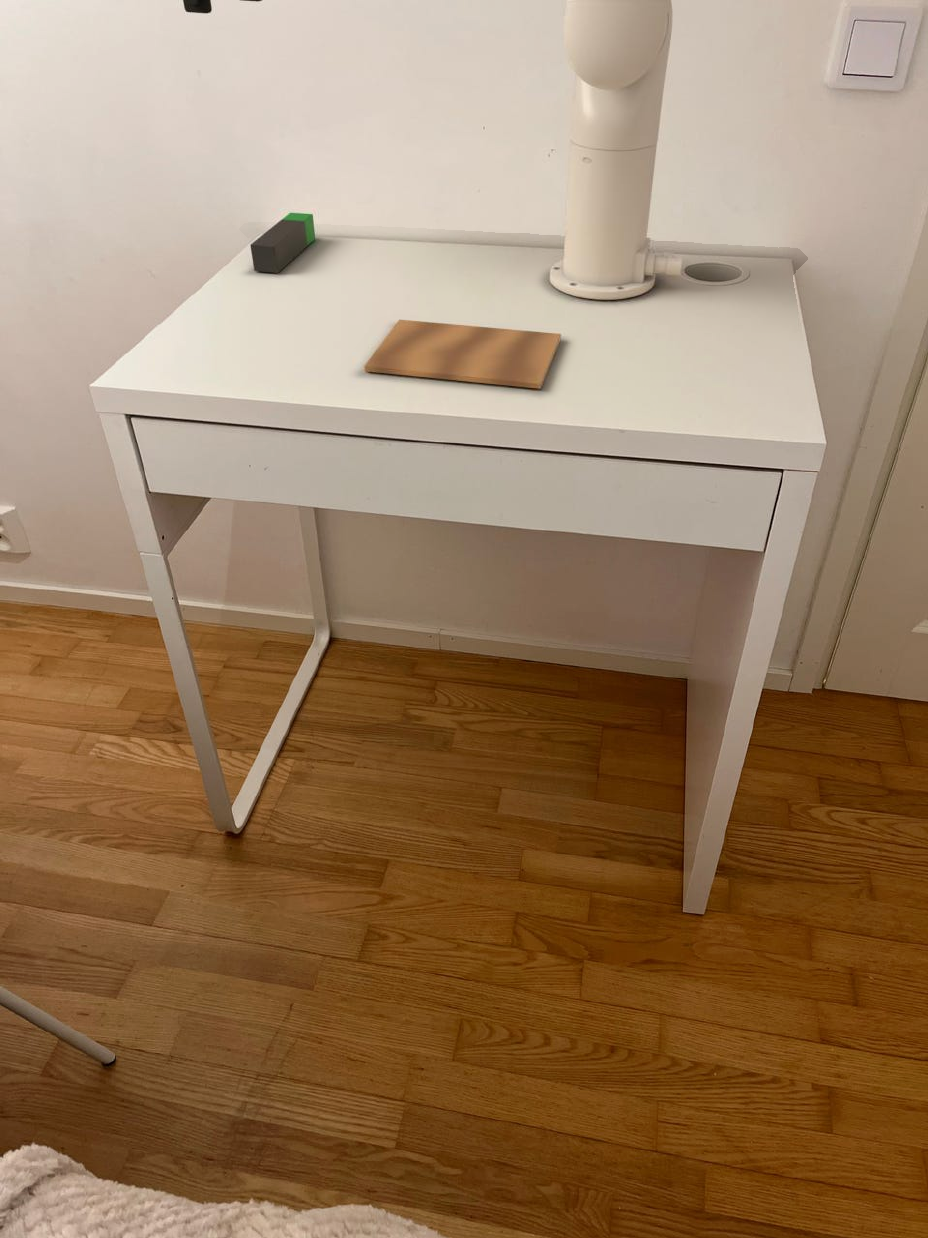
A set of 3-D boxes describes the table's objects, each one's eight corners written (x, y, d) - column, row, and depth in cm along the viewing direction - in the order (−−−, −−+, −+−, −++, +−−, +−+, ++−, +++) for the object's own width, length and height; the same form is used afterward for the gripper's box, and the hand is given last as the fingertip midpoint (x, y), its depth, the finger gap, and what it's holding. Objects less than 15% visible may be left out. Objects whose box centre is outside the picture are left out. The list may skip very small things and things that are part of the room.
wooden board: (560, 338, 100) (561, 333, 100) (540, 388, 91) (540, 383, 91) (399, 324, 103) (399, 319, 103) (364, 371, 94) (364, 365, 94)
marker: (278, 272, 116) (274, 246, 114) (254, 270, 117) (250, 244, 115) (315, 238, 126) (312, 213, 124) (293, 236, 126) (290, 212, 124)
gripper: (171, -201, 86) (206, 19, 97) (276, -198, 98) (296, -3, 109) (107, -200, 88) (148, 15, 99) (217, -197, 100) (242, -6, 111)
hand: (225, 5), depth 104 cm, fingers open, 9 cm apart
